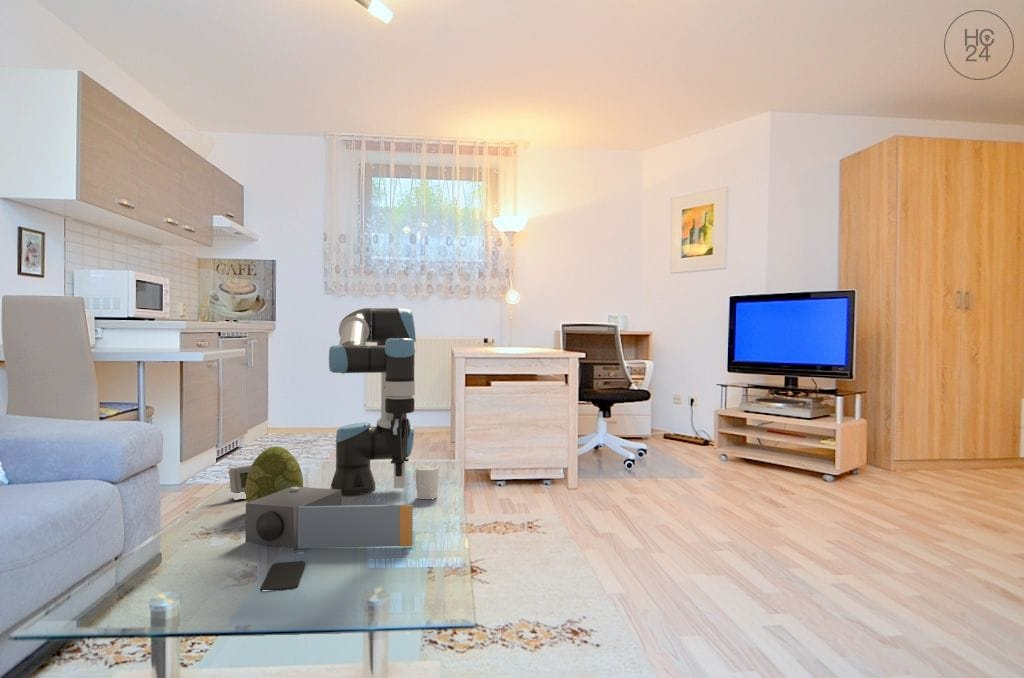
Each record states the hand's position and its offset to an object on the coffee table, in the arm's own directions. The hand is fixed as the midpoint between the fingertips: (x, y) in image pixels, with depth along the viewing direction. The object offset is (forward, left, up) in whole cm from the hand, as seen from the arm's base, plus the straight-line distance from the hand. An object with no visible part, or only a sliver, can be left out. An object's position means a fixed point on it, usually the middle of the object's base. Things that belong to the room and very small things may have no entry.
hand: (399, 487), depth 150 cm
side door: (+9, -8, -13) cm, 18 cm away
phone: (+29, -13, -14) cm, 35 cm away
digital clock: (-28, -67, -14) cm, 74 cm away
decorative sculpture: (-13, -48, -14) cm, 52 cm away
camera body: (+3, -29, -13) cm, 32 cm away
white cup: (-41, -10, -14) cm, 45 cm away
